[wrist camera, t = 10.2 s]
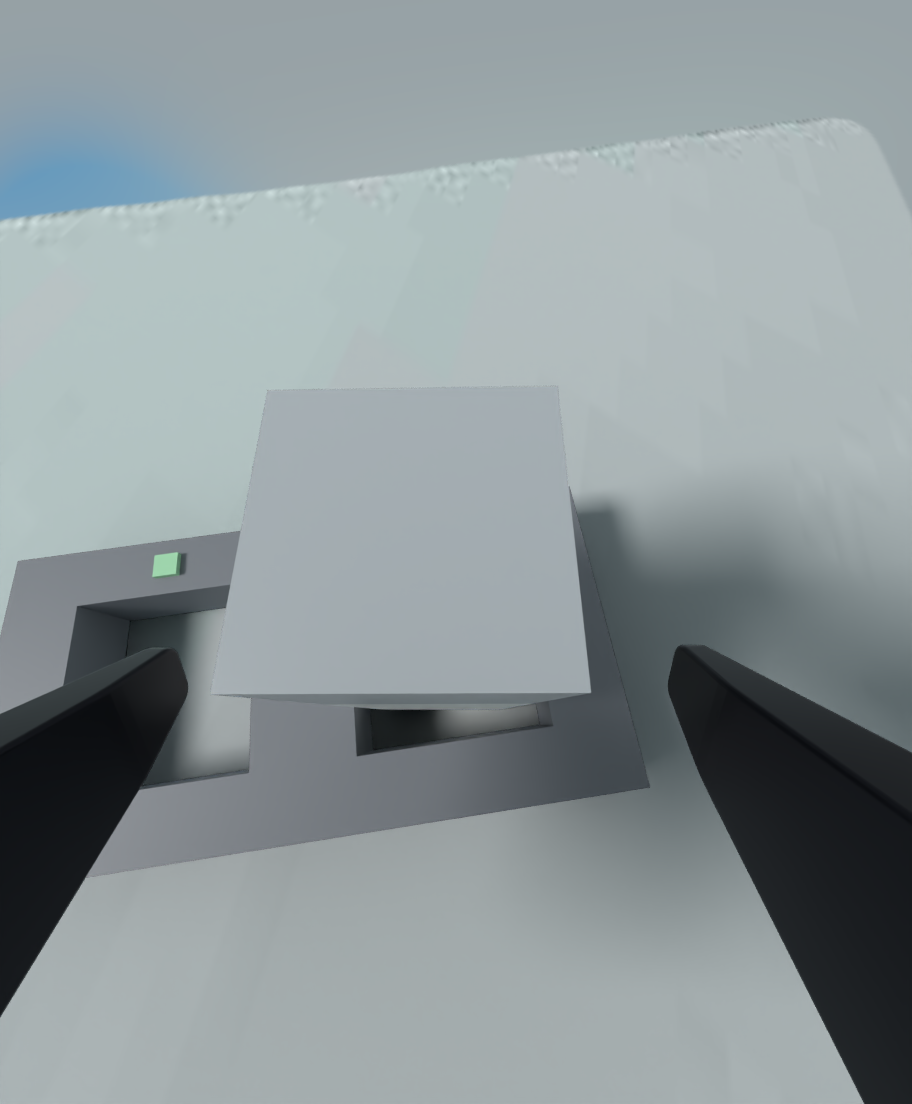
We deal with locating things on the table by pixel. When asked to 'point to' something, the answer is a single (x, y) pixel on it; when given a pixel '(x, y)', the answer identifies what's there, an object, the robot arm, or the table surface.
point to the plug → (407, 553)
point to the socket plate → (301, 721)
